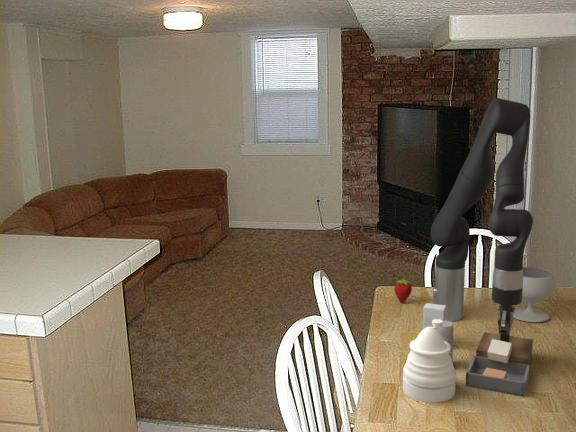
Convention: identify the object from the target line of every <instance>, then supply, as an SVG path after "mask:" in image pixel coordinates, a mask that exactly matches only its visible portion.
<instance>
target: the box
mask: <svg viewBox="0 0 576 432" xmlns="http://www.w3.org/2000/svg"><path fill="white" fill-rule="evenodd" d="M530 367H531V364H530V365H527V364H521V363H515V362H509V361H508V363H504V362H500V361H495V360H491V359H488V358H485V357H479V356H476V355H473V357H472V359H471V362H470V363H469V365H468V368H467V371H466V372H465V387H468V388H469V387H470V388H476V389H481V390H486V391H492V392H497V393H502V394H508V395H512V396H519V397H523V398H524V397H525V396H526V391H527V387H528V383H529V380H530V379H529V378H530ZM486 368H491V369H496V370H501V371H506V372H507V375H506V379H503V378H497V377H491V376H486V375H483V373H484V371H485V369H486Z"/></svg>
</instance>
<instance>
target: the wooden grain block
mask: <svg viewBox="0 0 576 432" xmlns="http://www.w3.org/2000/svg"><path fill="white" fill-rule="evenodd" d="M492 339H495V340H500V334H499V333H492V332H486V331H485V332H484V333H483V335H482V336H481V339H480V341H479V344H478V345H477V347H476V350H475V351H476V353H475V356H479V357H485V358H488V353H487V352H488V349H489V346H490V343H491V341H492ZM509 343H512V350H511V354H510V357H509V360H508V361H509V362H515V363H521V364H527V365H530V366H531V363H532V358H533V346H534V345H533V344H534V339H531V338H525V337H519V336H518V337H517V336H512V335H510V340H509Z"/></svg>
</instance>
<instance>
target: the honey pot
mask: <svg viewBox="0 0 576 432" xmlns="http://www.w3.org/2000/svg"><path fill="white" fill-rule="evenodd" d="M442 323H443V321H442V320H440V319H433V320H432V324H433V326H434V327H426V328H425V329H423V328H422V330H421V331H420V332H419V334H417V337H416V338H415V339H413V340H411V341H410V343H409V349H410V351H409V353H408V355H407V359H406V362H405V364H404V365H403V369H402V372H403V373H402V390H403V392H404V393H405V395H406V396H408V397H409V398H412V399H414V400H416V401H419V402H424V403H442V402H443V403H444V402H446V401H449V400H450V399H453V397H454V396H455V395H456V384H457V383H456V380H457V378H456V369H455V367H454V364H453V362H452V359H451V357H450V355H449V352H450V350H451V346H450V344H449V343H447V342H446V341H444V340H443V338H442V336H441V335H440V333H439V332H438V331H437V330H436V329H438V328H440V327H441V326H442Z"/></svg>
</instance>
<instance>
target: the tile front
mask: <svg viewBox="0 0 576 432" xmlns="http://www.w3.org/2000/svg"><path fill="white" fill-rule="evenodd" d="M483 375H486V376H491V377H497V378H503V379H506V375H507V372H506V371H501V370H496V369H491V368H486V369H485V371H484V373H483Z"/></svg>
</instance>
